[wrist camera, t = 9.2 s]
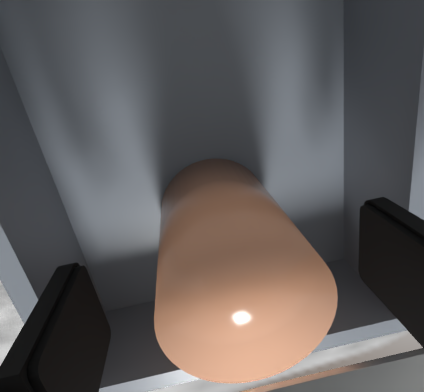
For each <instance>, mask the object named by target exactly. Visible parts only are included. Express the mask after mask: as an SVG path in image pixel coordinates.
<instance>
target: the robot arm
mask: <svg viewBox="0 0 424 392" xmlns="http://www.w3.org/2000/svg"><path fill="white" fill-rule="evenodd" d="M358 271H359V275H360V277H361V279H362V281H363V282H364V283H365V284H366V285H367V286H368V287H369V288H370V290H371V291H372V292H373V293H374V294H375V295H376V296H377V297H378V298H379V299H380V301H381V302H382V303H383V304H384V305H385V306H386V307H387V308H388V309H389V310H390V312H391V313H392V314H393V315H394V316H395V317H396V318H397V319H398V320H399V321H400V322H401V324H402V325H403V326H404V327H405V328H406V329H407V330H408V331H409V332H410V333H411V334H412V336H413V337H414V338H415V339H416V340H417V341H418V342H419V343H420V344H421V346H422V347H423V348H422V349H418V350H413V351H409V352H405V353H400V354H396V355H391V356H387V357H383V358H379V359H375V360H370V361H366V362H362V363H357V364H353V365H349V366H345V367H340V368H336V369H332V370H328V371H324V372H319V373H316V374H311V375H307V376H303V377H299V378H294V379H290V380H286V381H282V382H278V383H274V384H270V385H265V386H261V387H257V388H253V389H249V390H245V391H241V392H424V220H423V219H421V218H419V217H418V216H416V215H414V214H413V213H411V212H409V211H408V210H406V209H404V208H403V207H401V206H399V205H397V204H396V203H394V202H392V201H391V200H389V199H387V198H385V197H380V198H375V199H370V200H366V201H365V202H364V205H362V206H361V207H360V217H359V265H358ZM110 339H111V329H110V326H109V323H108V321H107V318H106V316H105V313H104V311H103V308H102V306H101V303H100V301H99V298H98V296H97V293H96V291H95V288H94V286H93V283H92V281H91V278H90V276H89V273H88V271H87V269H86V267H85V266H84V265H83V266H80V265H79V263H77V262H76V263H71V264H67V265H62V266H58V267H57V268H56V270H55V272H54V274H53V275H52V277H51V279H50V281H49V282H48V284H47V286H46V288H45V289H44V291H43V293H42V295H41V296H40V298H39V300H38V302H37V303H36V305H35V307H34V308H33V310H32V312H31V314H30V315H29V317H28V319H27V321H26V322H25V324H24V326H23V328H22V329H21V331H20V333H19V335H18V336H17V338H16V340H15V342H14V343H13V345H12V347H11V349H10V350H9V352H8V354H7V356H6V357H5V359H4V361H3V363H2V364H1V366H0V392H99V388H100V384H101V379H102V375H103V370H104V366H105V361H106V357H107V352H108V348H109V343H110Z"/></svg>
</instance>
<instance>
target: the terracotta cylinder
mask: <svg viewBox="0 0 424 392" xmlns="http://www.w3.org/2000/svg"><path fill="white" fill-rule="evenodd" d="M337 301H338V295H337V287H336V283H335V279H334V277H333V275H332V273H331V270H330V269H329V267H328V266H327V265H326V263H325V262H324V261H323V259H322V258H321V257H320V256H319V254H318V253H317V252H316V251H315V249H314V248H313V247H312V246H311V244H310V243H309V242H308V241H307V239H306V238H305V237H304V236H303V234H302V233H301V232H300V231H299V229H298V228H297V227H296V226H295V224H294V223H293V222H292V221H291V220H290V218H289V217H288V216H287V215H286V213H285V212H284V211H283V210H282V208H281V207H280V206H279V205H278V203H277V202H276V201H275V200H274V198H273V197H272V196H271V195H270V193H269V192H268V191H267V190H266V188H265V187H264V186H263V185H262V183H261V182H260V181H259V180H258V179H257V177H256V176H255V175H254V174H253V173H252V172H251V171H250V170H249V169H247V168H246V167H245V166H243V165H241V164H239V163H237V162H234V161H231V160H227V159H206V160H202V161H198V162H196V163H193V164H191V165H189V166H187V167H185V168H184V169H183V170H181V171H180V172H179V173H178V174H177V175H176V176H175V177H174V178H173V179H172V180H171V182H170V183H169V185H168V186H167V188H166V190H165V193H164V195H163V199H162V205H161V218H160V234H159V249H158V265H157V281H156V296H155V312H154V329H155V333H156V338H157V340H158V343H159V345H160V347H161V349H162V351H163V352H164V354H165V355H166V356H167V357H168V359H169V360H170V361H171V362H172V363H173V364H175V365H176V366H177V367H178V368H180V369H181V370H183V371H184V372H186V373H188V374H190V375H192V376H195V377H197V378H200V379H203V380H207V381H212V382H218V383H245V382H252V381H257V380H261V379H264V378H268V377H271V376H273V375H276V374H279V373H281V372H283V371H285V370H287V369H289V368H291V367H292V366H294V365H295V364H297V363H299V362H300V361H301V360H303V359H304V358H305V357H307V356H308V355H309V354H310V353H311V352H312V351H313V350H314V349H315V348H316V347H317V346H318V345H319V344H320V342H321V341H322V340H323V338H324V337H325V336H326V334H327V332H328V331H329V329H330V327H331V325H332V322H333V320H334V317H335V314H336V309H337Z"/></svg>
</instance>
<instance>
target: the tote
mask: <svg viewBox="0 0 424 392" xmlns="http://www.w3.org/2000/svg"><path fill="white" fill-rule="evenodd" d="M206 159H227V160H231V161H234V162H237V163H239V164H241V165H243V166H245V167H246V168H247V169H249V170H250V171H251V172H252V173H253V174H254V175H255V176H256V177H257V179H258V180H259V181H260V182H261V183H262V185H263V186H264V187H265V188H266V190H267V191H268V192H269V193H270V195H271V196H272V197H273V198H274V200H275V201H276V202H277V203H278V205H279V206H280V207H281V208H282V210H283V211H284V212H285V213H286V215H287V216H288V217H289V218H290V220H291V221H292V222H293V223H294V224H295V226H296V227H297V228H298V229H299V231H300V232H301V233H302V234H303V236H304V237H305V238H306V239H307V241H308V242H309V243H310V244H311V246H312V247H313V248H314V249H315V251H316V252H317V253H318V254H319V256H320V257H321V258H322V259H323V261H324V262H325V263H326V265H327V266H328V267H329V269H330V270H331V273H332V275H333V277H334V279H335V283H336V287H337V295H338V301H337V309H336V314H335V317H334V320H333V322H332V325H331V327H330V329H329V331H328V332H327V334H326V336H325V337H324V338H323V340H322V341H321V342H320V344H319V345H318V346H317V347H316V348H315V349H314V350H313V351H312V352H311V353H313V352H317V351H321V350H326V349H330V348H334V347H338V346H342V345H347V344H351V343H355V342H359V341H363V340H368V339H372V338H376V337H380V336H385V335H389V334H393V333H397V332H401V331H406V330H407V329H406V328H405V327H404V326H403V325H402V324H401V322H400V321H399V320H398V319H397V318H396V317H395V316H394V315H393V314H392V313H391V312H390V310H389V309H388V308H387V307H386V306H385V305H384V304H383V303H382V302H381V301H380V299H379V298H378V297H377V296H376V295H375V294H374V293H373V292H372V291H371V290H370V288H369V287H368V286H367V285H366V284H365V283H364V282H363V281H362V279H361V277H360V275H359V271H358V265H359V217H360V207H361V206H362V205H364V202H365V201H366V200H370V199H375V198H380V197H385V198H387V199H389V200H391V201H392V202H394V203H396V204H397V205H399V206H401V207H403V208H404V209H406V210H408V211H409V212H411V213H413V214H414V215H416V216H418V217H419V218H421V219H423V220H424V0H0V280H1V282H2V284H3V286H4V288H5V290H6V291H7V293H8V295H9V297H10V299H11V301H12V302H13V304H14V306H15V308H16V310H17V312H18V313H19V315H20V317H21V319H22V321H23V322H24V324H25V322H26V321H27V319H28V317H29V315H30V314H31V312H32V310H33V308H34V307H35V305H36V303H37V302H38V300H39V298H40V296H41V295H42V293H43V291H44V289H45V288H46V286H47V284H48V282H49V281H50V279H51V277H52V275H53V274H54V272H55V270H56V268H57V267H58V266H62V265H67V264H71V263H76V262H77V263H79V265H80V266H83V265H84V266H85V267H86V269H87V271H88V273H89V276H90V278H91V281H92V283H93V286H94V288H95V291H96V293H97V296H98V298H99V301H100V303H101V306H102V308H103V311H104V313H105V316H106V318H107V321H108V323H109V326H110V329H111V339H110V343H109V348H108V352H107V357H106V361H105V366H104V370H103V375H102V379H101V384H100V388H99V392H148V391H153V390H157V389H161V388H165V387H170V386H174V385H178V384H182V383H186V382H191V381H195V380H199V379H200V378H197V377H195V376H192V375H190V374H188V373H186V372H184V371H183V370H181V369H180V368H178V367H177V366H176V365H175V364H173V363H172V362H171V361H170V360H169V359H168V357H167V356H166V355H165V354H164V352H163V351H162V349H161V347H160V345H159V343H158V340H157V338H156V333H155V329H154V312H155V296H156V281H157V265H158V249H159V234H160V218H161V205H162V199H163V195H164V193H165V190H166V188H167V186H168V185H169V183H170V182H171V180H172V179H173V178H174V177H175V176H176V175H177V174H178V173H179V172H180V171H181V170H183V169H184V168H185V167H187V166H189V165H191V164H193V163H196V162H198V161H202V160H206Z"/></svg>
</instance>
